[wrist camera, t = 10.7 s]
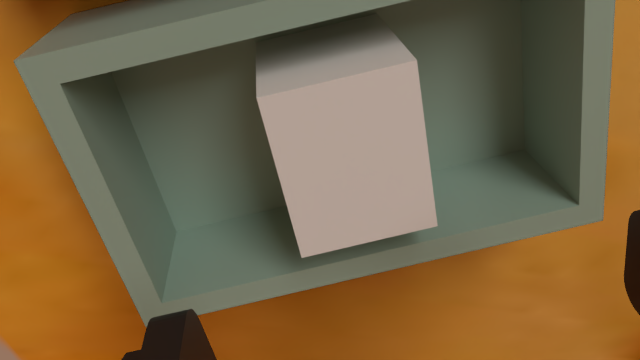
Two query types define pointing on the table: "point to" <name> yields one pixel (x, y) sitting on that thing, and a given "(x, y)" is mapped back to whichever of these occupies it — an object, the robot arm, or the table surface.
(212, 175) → the sage green bin
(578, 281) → the table surface
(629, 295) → the robot arm
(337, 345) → the table surface
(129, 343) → the table surface
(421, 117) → the pale pink block
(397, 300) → the table surface
